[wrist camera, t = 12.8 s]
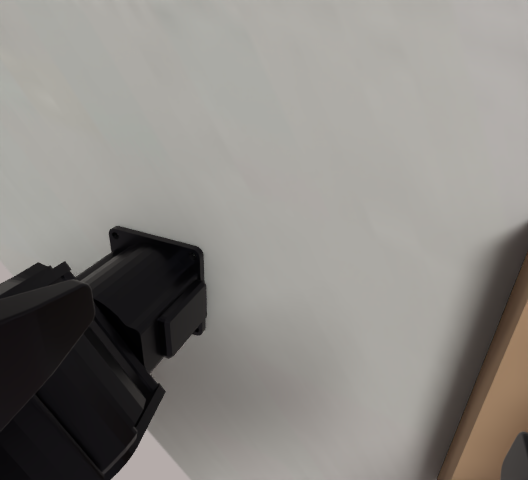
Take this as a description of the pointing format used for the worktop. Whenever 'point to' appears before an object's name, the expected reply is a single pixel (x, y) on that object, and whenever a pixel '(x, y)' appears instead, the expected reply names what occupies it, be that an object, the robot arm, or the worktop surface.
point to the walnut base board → (495, 397)
